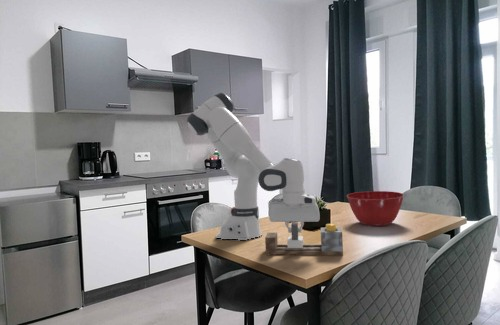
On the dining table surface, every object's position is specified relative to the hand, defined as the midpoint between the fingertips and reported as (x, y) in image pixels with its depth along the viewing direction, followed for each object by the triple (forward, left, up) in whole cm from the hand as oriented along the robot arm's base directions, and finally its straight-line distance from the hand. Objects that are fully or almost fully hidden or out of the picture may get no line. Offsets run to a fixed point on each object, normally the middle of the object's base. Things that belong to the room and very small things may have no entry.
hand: (295, 232), depth 145 cm
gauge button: (+14, 0, -2) cm, 14 cm away
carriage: (0, 0, -6) cm, 6 cm away
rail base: (+3, 0, -8) cm, 9 cm away
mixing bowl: (+39, +51, -8) cm, 65 cm away
